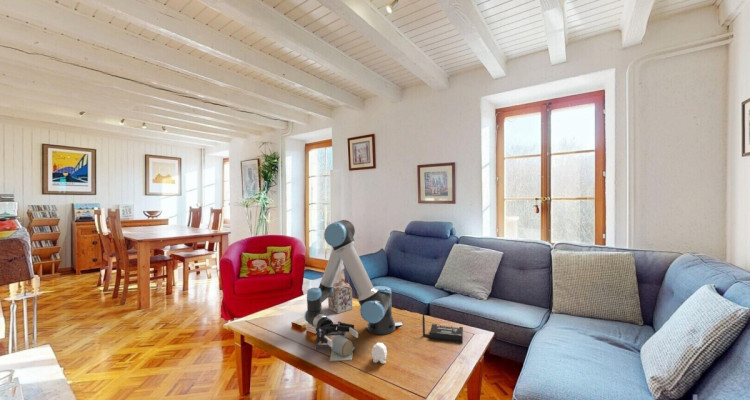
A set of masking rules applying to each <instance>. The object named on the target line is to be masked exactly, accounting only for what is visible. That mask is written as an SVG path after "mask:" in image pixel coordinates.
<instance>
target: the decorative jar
mask: <svg viewBox="0 0 750 400" xmlns="http://www.w3.org/2000/svg"><path fill="white" fill-rule="evenodd" d="M327 301H328V302H327V304H328V310H330V311H332V312H334V313H336V314H342V313H345V312H349V311H351V310H352V309H353V288H352V287H351V285H350V284H349V283H348V282H344V281H343V280H337V281H336V282H334V285H333V292H332V294H331V295H330V296H329V297H328V298H327Z"/></svg>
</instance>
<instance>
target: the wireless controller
mask: <svg viewBox="0 0 750 400" xmlns="http://www.w3.org/2000/svg"><path fill="white" fill-rule="evenodd" d="M425 319H426V318H425V305H424V304H422V337H427V338H429V339H430V340H432V341H433V340H435V341H443V342H450V343H451V342H453V343H460V344H463V340H464V338H463V337H464V327H463V326H459V327H458V326H457V327H454V326H445V325H440V324H439V325H438V324H435V323H434V324H433V323H432V324H431V327H430V331H429V333H426V326H425V325H426V323H425V322H426V321H425Z"/></svg>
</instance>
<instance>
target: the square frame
mask: <svg viewBox="0 0 750 400" xmlns="http://www.w3.org/2000/svg"><path fill="white" fill-rule="evenodd" d="M347 334H348V332H343V331H338V332H331V333H328V334H327V336H328V335H329V336H331V335H332V336H333V335H335V336H336V335H343V337H345V338H346V339H347ZM321 335H322V333H321V332H320V337H321ZM320 343H321V341H320V342H317V341H316V344H315V350H330V349H331V347H330V346H329V345H328V344H320Z"/></svg>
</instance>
